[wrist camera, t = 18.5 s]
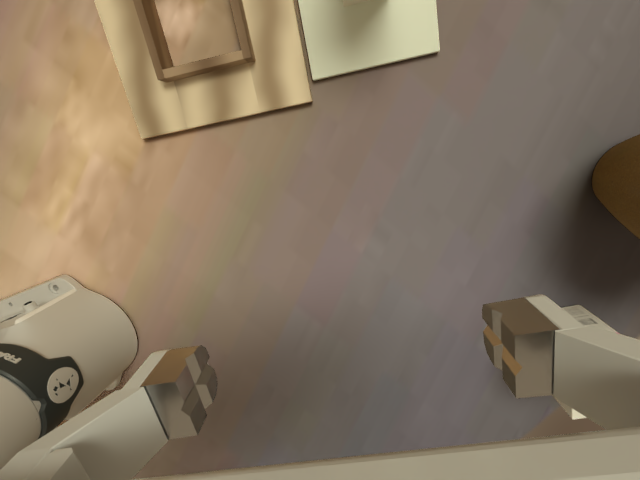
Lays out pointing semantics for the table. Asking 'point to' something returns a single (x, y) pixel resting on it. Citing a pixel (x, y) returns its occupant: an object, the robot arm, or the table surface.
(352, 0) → the banded cream pillar
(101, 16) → the wooden square socket board
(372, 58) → the pad
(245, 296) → the table surface
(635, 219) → the plant pot
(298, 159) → the table surface
